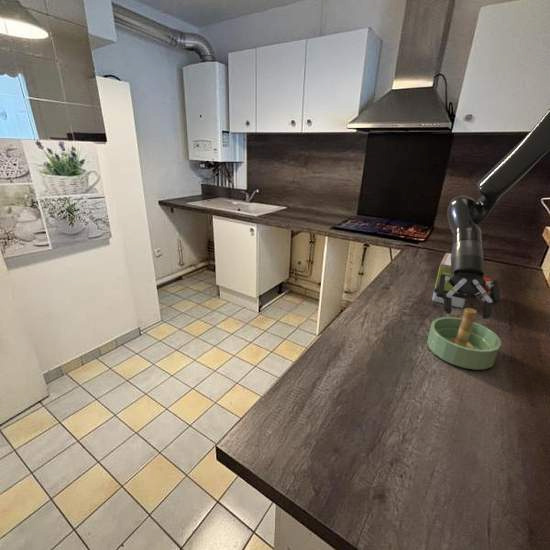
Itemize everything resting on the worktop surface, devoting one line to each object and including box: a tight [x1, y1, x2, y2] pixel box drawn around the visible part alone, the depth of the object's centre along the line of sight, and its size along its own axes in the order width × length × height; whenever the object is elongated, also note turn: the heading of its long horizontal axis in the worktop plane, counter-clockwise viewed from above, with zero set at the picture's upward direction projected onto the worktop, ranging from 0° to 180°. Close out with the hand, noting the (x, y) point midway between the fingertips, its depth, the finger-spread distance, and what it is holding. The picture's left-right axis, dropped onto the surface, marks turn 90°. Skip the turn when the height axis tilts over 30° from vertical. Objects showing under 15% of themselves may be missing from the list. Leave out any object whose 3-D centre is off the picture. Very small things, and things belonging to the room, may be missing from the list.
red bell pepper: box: [479, 276, 493, 294], centre depth 107 cm, size 6×6×8 cm
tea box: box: [432, 252, 468, 309], centre depth 105 cm, size 15×10×15 cm
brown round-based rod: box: [448, 307, 478, 349], centre depth 76 cm, size 6×6×12 cm
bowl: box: [426, 316, 502, 370], centre depth 77 cm, size 16×16×6 cm
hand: (467, 315), depth 76 cm, fingers open, 8 cm apart
